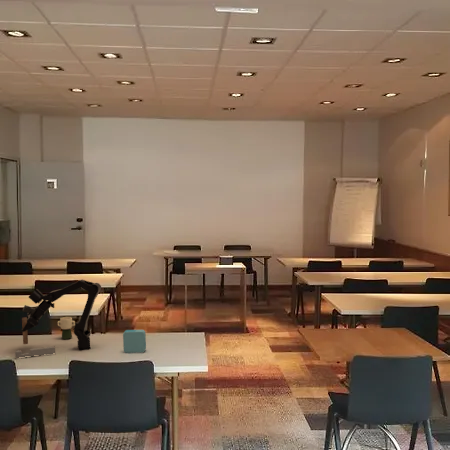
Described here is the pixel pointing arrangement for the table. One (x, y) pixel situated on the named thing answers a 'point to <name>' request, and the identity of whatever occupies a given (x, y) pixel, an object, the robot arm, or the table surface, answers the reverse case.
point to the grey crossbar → (36, 352)
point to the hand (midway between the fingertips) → (22, 329)
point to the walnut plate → (25, 333)
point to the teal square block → (134, 341)
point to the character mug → (66, 327)
